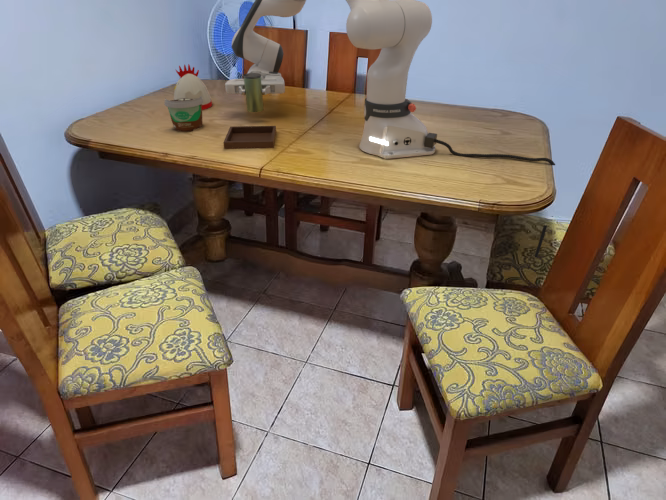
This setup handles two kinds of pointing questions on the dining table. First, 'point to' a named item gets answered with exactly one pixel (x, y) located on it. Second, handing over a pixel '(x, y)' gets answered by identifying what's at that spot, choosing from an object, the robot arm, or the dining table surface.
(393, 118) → the robot arm
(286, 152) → the dining table surface
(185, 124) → the food container
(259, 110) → the tin canister
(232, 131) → the tray
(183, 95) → the kitchen timer
